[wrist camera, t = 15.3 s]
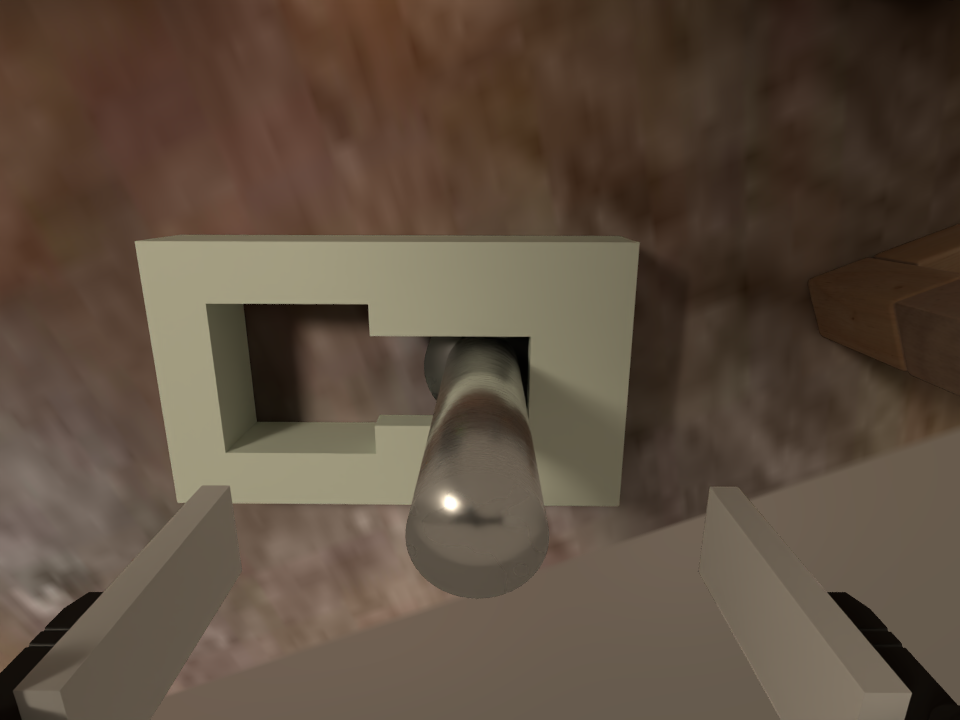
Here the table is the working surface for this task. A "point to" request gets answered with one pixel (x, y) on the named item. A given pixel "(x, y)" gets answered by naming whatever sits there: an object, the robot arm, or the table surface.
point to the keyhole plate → (392, 312)
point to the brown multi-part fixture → (899, 307)
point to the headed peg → (478, 471)
